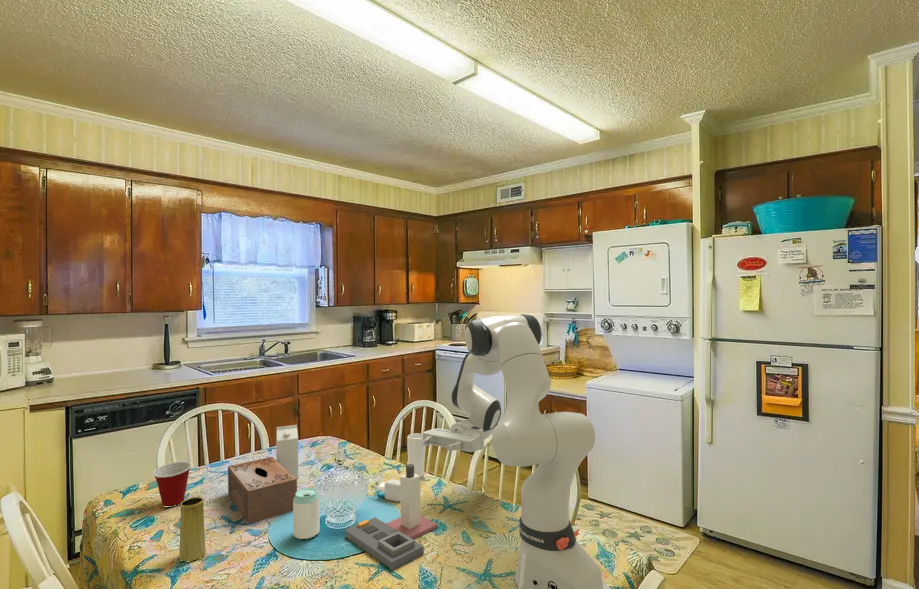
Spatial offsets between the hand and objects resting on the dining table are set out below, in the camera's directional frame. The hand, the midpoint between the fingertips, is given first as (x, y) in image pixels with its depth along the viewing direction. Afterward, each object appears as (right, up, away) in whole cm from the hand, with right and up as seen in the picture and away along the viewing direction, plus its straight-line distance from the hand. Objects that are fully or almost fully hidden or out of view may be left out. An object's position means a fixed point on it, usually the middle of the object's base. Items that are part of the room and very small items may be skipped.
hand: (436, 446), depth 144 cm
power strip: (-13, -21, -19) cm, 31 cm away
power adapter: (-17, -21, +11) cm, 29 cm away
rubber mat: (-7, -21, -9) cm, 24 cm away
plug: (-7, -20, -9) cm, 23 cm away
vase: (-62, -21, -23) cm, 70 cm away
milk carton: (-57, -21, +29) cm, 67 cm away
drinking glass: (-9, -21, +28) cm, 36 cm away
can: (-36, -21, -13) cm, 44 cm away
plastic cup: (-86, -21, +7) cm, 89 cm away
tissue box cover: (-58, -22, +8) cm, 62 cm away
